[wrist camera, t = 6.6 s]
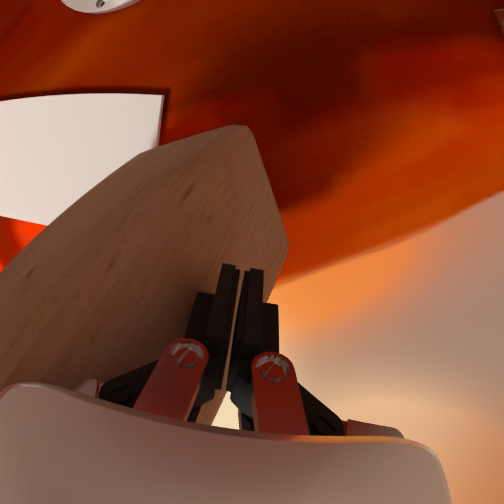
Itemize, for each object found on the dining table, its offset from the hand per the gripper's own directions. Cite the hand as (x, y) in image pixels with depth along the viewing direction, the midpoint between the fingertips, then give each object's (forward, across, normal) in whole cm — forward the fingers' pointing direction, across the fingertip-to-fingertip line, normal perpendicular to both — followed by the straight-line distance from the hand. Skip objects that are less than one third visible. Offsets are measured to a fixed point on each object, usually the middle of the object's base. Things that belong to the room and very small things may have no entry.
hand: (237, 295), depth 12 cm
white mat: (+13, +19, 0) cm, 23 cm away
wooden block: (+11, +3, 0) cm, 12 cm away
